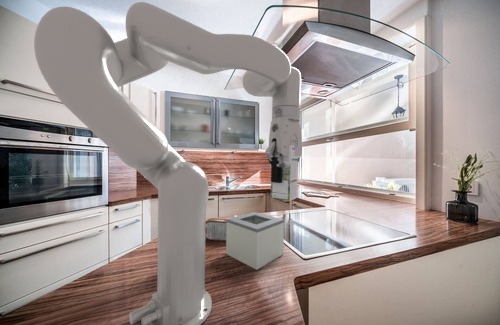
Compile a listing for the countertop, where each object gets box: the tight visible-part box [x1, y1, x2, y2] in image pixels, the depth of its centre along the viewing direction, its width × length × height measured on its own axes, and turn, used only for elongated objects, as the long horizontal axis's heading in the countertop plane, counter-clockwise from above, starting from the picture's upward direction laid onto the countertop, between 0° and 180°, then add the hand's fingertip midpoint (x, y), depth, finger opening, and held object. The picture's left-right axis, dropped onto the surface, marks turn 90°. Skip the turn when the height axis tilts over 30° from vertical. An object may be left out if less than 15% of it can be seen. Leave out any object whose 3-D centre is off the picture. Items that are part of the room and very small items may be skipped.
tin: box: [205, 217, 228, 242], centre depth 79 cm, size 15×3×8 cm, turn 84°
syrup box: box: [270, 145, 299, 202], centre depth 53 cm, size 6×6×14 cm
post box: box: [225, 211, 285, 271], centre depth 67 cm, size 14×14×12 cm
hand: (284, 181), depth 53 cm, fingers closed on syrup box, 6 cm apart
